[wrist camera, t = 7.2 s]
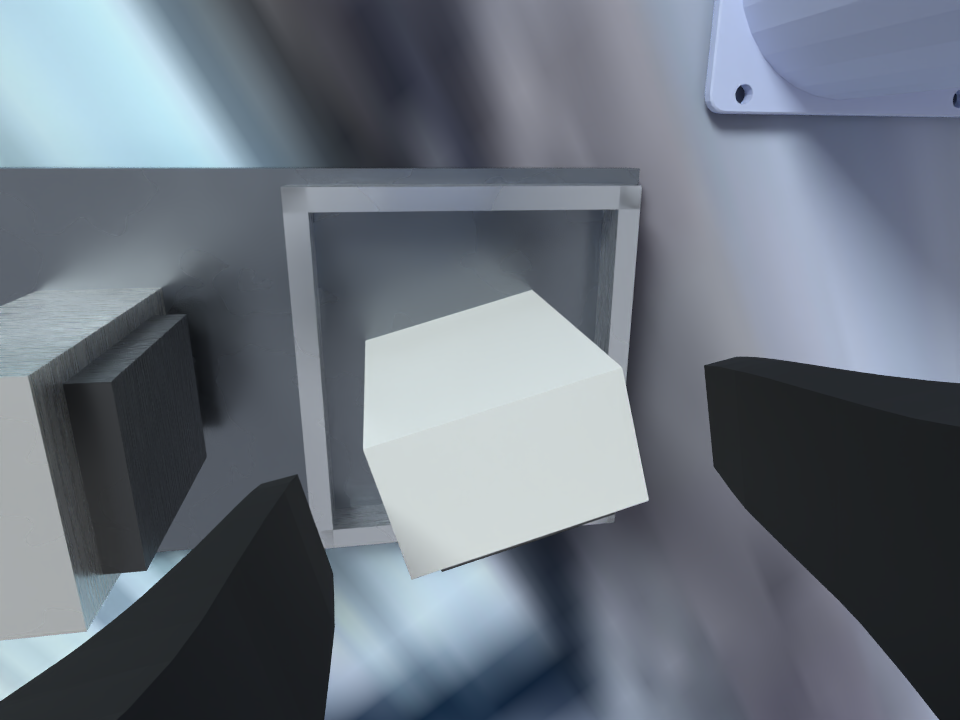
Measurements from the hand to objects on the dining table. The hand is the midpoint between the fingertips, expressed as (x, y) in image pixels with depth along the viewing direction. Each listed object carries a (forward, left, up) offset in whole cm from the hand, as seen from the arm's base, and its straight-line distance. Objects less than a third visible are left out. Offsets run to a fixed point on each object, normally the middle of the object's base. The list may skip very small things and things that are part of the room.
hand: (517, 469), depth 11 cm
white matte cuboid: (0, +1, -8) cm, 8 cm away
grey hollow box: (+5, +1, -9) cm, 10 cm away
